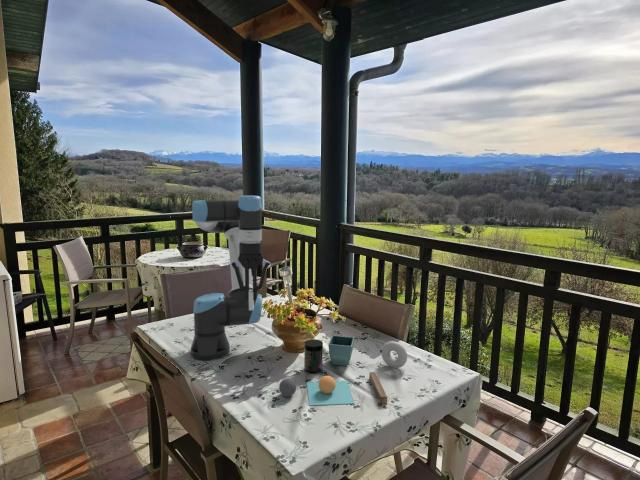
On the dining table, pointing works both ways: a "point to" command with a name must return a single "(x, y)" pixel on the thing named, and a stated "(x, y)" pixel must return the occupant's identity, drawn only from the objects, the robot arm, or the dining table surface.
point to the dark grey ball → (287, 387)
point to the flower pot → (340, 349)
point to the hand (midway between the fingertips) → (251, 308)
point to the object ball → (327, 384)
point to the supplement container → (313, 356)
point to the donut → (398, 349)
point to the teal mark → (334, 398)
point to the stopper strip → (378, 388)
